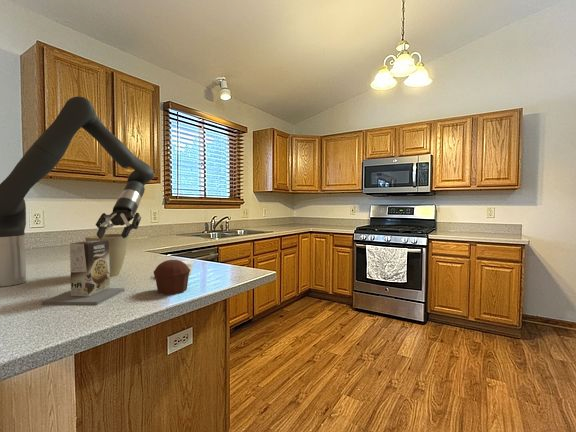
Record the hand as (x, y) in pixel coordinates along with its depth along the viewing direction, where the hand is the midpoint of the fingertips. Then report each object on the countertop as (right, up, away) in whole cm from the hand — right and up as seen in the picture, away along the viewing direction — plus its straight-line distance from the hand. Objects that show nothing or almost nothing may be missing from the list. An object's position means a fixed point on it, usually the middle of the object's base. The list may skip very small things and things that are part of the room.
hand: (111, 236), depth 107 cm
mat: (0, -18, -13) cm, 22 cm away
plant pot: (-10, -17, +15) cm, 25 cm away
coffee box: (0, -17, -11) cm, 20 cm away
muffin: (+24, -17, -6) cm, 30 cm away
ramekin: (+18, -17, +16) cm, 29 cm away
